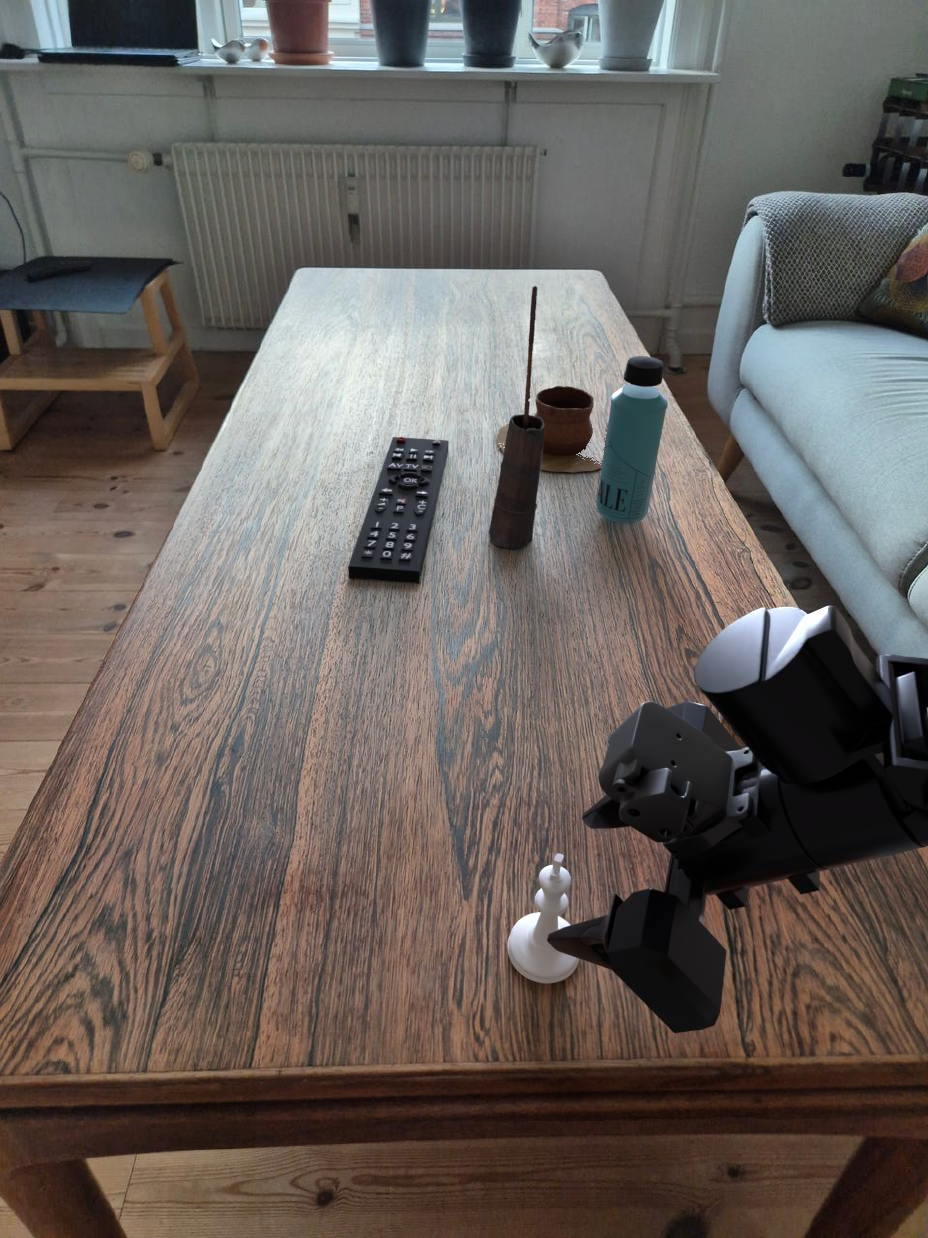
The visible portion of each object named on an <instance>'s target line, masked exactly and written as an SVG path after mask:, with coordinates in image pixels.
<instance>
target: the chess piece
mask: <svg viewBox="0 0 928 1238" xmlns="http://www.w3.org/2000/svg"><path fill="white" fill-rule="evenodd" d="M564 857H565V854H562V853H558V852H557V853H556V854H555V855H554V858H553V863H552V864H549V865H547V866H545V867H543V868H542V869H541V870H540V872H539V874H538V883H539V886H540V889H539V890H538V891H537V892H536V894H535V896H534V905H535V907H536V909H537V910H538V911H539V912H533V913H529V914H527V915H525V916H523V917H522V918H520V919H519V920H518V921H516V923H515V924H514V925H513V927H512V929H511V931H510V933H509V936H508V939H507V954H508V958H509V960H510V963H511V964H512V966H513V967H514V969H515V970H516V971H517V972H518V973H519V974H520V975H521V976H523V977H524V978H526V979H528V980H530V981H532V982H536V983H539V984H555V983H558V982H562V981H564V980H566V979H567V978H569V977H570V976H571V975H572V974H573V973H574V972H575V970H576V969H577V967H578V966H579V964H580V960H581V959H579V958H576V957H573V956H570V955H567V954H564V953H561V952H559V951H557V950H555V949H554V948H553V947H552V946H551V945H550V944H549V943H548V942H547V937H548V935H549V934H550V933H552V932H554V931H557V930H559V929H561V928H563V927H566V926H570V925H571V924H570V922H568V921H567V920H565V918H563V917H561V915H563V914H564V913H565V912H566V911H567V910H568V907H569V899H568V896H567V894H566V893H567V891H568V890H569V889H570V887H571V885H572V876H571V873H569V871H568V870H567V869H566V868H565V867H563V866H562V864H563V862H564Z"/></svg>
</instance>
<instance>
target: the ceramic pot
mask: <svg viewBox="0 0 928 1238" xmlns="http://www.w3.org/2000/svg"><path fill="white" fill-rule="evenodd" d="M594 401H595V399H594V397H593V395H592V394H590V393H589V392H588V391H586V390H584V389H581V388H577V387H574V386H569V385H566V386H562V385H555V386H553V387H548V388H545V389H542V390H540V391H539V392H537V394H536V396H535V407H536V411H535V413H534V414H533V416H537V417H541V418H543V421H544V424H545V426H544V427H545V433H544V445H543V453H542V461H541V471H548V472H551V473H553V472H557V473H563V472H564V473H573V474H576V473H578V472H593V471H596V470H599V469H600V470H601V469H602V467H600V466H602V465H600V464H601V463H600V464H598V463H599V461H597V460H596V461H597V462H598V463H595V462H596V461H593V460H591V459H592V458H593V457H592V458H589V457H588V458H586V457H587V456H586V457H583V456H582V455H580V454H578V453H579V452H580V453H581V451H582V450H583V449H584V450H585V449H586V446H587V444H588V443H589V441H590V439H591V437H592V434H593V428H592V424H591V422H592V421H591V414H592V412H593V409H594V407H595V402H594ZM508 426H509V423H508V424H505V425H503V426H502V427H500V429H499V430H498V434H497V437H496V438H495V439H496V444H497V443H502V444H498V445H497V446H498V448H499V449H500V448H501V449H500V450H501V452H502V451H503V452H502V454H504V449H505V448H503V447H505V443H506V438H507V431H508ZM503 443H504V445H503ZM590 443H591V442H590ZM500 445H501V446H502V447H500ZM576 454H578V455H579V456H578V455H576ZM580 456H581V457H580ZM582 458H584V459H585V460H584V459H582ZM593 459H594V458H593ZM590 460H591V461H590ZM602 462H603V461H602ZM594 463H595V464H594Z"/></svg>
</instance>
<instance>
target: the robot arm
mask: <svg viewBox="0 0 928 1238" xmlns="http://www.w3.org/2000/svg"><path fill="white" fill-rule="evenodd" d="M875 665H876V668H875V666H874V665H873V663H872V662H871V661H870V659H868V657H867V655H866V654H865V652H864V651H863V650H862V649H861V647H860V646H859V644H858V643H857V642H856V640H855V638H854V636H853V633H852V630H851V626H850V625H849V624H848V622H847V620H846V619H845V618H844V616H843V615H842V614H841V612H840V611H839V609H838V608H837V606H833V605H827V606H825V607H822V608H820V609H817V610H815V611H813V612H811V613H808V614H807V612H805V611H804V610H802V609H801V608H799V607H795V606H778V607H772V608H769V609H767V608H765V607H759V608H758V609H754V610H753V611H749V612H748V613H746V614H744V615H743V616H741V617H738V618H737V619H736V620H734V621H732V622H731V623H730V624H729V625H727V626H726V627H724V628H723V629H722V630H721V631H720V632H719V633H717V634H716V635H715V636H714V637H713V638H712V639H711V640H710V642H709V643H708V644H706V646H705V648H703V650H702V652H701V653H700V655H699V657H698V658H697V660H696V663H695V665H694V669H693V680H694V683H695V685H696V686H697V687H698V689H699V690H700V691H701V692H702V694H703V695H704V696H705V697H706V699H707V700H708V701H709V702H710V703H711V704H712V706H713V707H714V708H715V710H716V711H717V713H719V714H720V716H721V717H722V719H723V718H724V719H723V720H724V721H725V722H726V723H727V724H728V726H729V727H730V728H731V729H732V730H733V732H734V733H735V734H736V735H737V737H739V739H740V740H741V741H742V742H743V743H744V745H745V746H746V747H742V746H741V744H739V742H738V741H737V740H736V738H734V737H733V735H732V734H731V733H730V731H729V730H728V729H727V728H726V727H725V725H724V724H723V723H722V722H721V721H720V719H719V718H718V717H717V716H716V714H715V713H714V712H713V711H712V710H711V708H710V707H709V706H708V705H707V704H703V703H702V704H701V703H697V702H694V701H690V700H684V701H682V702H679V703H677V704H674V705H671V706H669V707H667V708H666V707H665V706H663V705H661V704H660V703H658V702H655V701H652V700H647V701H644V702H642V703H641V704H640V705H639V706H638V708H636V709H635V710H634V711H633V712H632V713H631V714H630V715H629V716H628V717H627V718H626V719H625V720H624V721H623V722H622V723H621V724H620V725H619V726H618V727H617V728H616V729H615V730H614V731H613V732H612V733H610V735H609V737H608V741H607V743H608V746H607V750H606V754H605V757H604V760H603V763H602V766H601V767H600V769H599V771H598V783H599V786H600V788H601V790H602V791H603V792H604V794H605V795H604V796H602V797H601V798H600V799H599V800H598V801H597V802H595V804H593V805H592V806H591V807H590V808H588V809H587V810H586V811H584V812H583V813H582V816H581V820H582V822H583V823H584V824H585V825H586V826H587V827H588V828H589V829H592V830H603V829H605V830H606V829H607V830H608V829H611V830H612V829H621V828H629V827H631V828H632V829H634V830H636V831H637V832H639V833H640V834H641V835H643V836H645V837H647V838H648V839H650V840H651V841H652V842H655V843H660V844H661V843H662V846H663V847H664V848H665V849H666V850H667V852H669V854H670V856H669V861H668V862H669V863H668V868H667V874H666V879H665V883H664V884H665V885H664V891H662V890H659V889H656V888H652V887H648V888H644V889H640V890H636V891H633V892H631V894H629V895H628V897H626V899H624V900H623V899H622V897H621V896H619V894H617V893H614V894H613V896H612V899H611V903H610V907H609V912H608V913H607V914H604V915H602V916H598V917H594V918H591V919H588V920H585V921H580V922H577V923H574V924H573V923H572V924H570V926H566V927H563V928H561V929H559V930H557V931H554V932H552V933H550V934H549V935H548V937H547V942H548V943H549V944H550V945H551V946H552V947H553V948H554V949H555V950H557V951H559V952H561V953H564V954H567V955H570V956H573V957H576V958H579V959H580V960H581V961H584V962H587V963H591V964H593V965H597V966H599V967H602V968H605V969H608V970H610V971H612V972H613V973H614V974H615V975H616V976H617V977H618V978H619V979H620V980H621V981H622V982H623V984H625V986H627V987H628V988H629V989H630V991H632V993H634V994H635V995H636V996H637V998H639V1000H641V1001H642V1002H643V1004H645V1005H646V1006H647V1007H648V1009H650V1011H652V1012H653V1013H654V1015H655V1016H656V1017H657V1018H658V1019H659V1020H660V1021H661V1022H662V1023H663V1024H664V1025H665V1026H666V1027H667V1028H668V1029H669V1030H670V1031H671V1032H672V1033H673V1034H680V1033H681V1034H682V1033H688V1032H689V1033H690V1032H696V1031H704V1030H706V1029H708V1028H711V1027H713V1026H715V1025H716V1024H717V1021H718V1018H719V1016H720V1013H722V1012H721V1011H722V1002H723V990H724V982H725V981H724V980H725V972H726V971H725V970H726V961H727V949H726V948H725V947H724V946H723V944H722V943H721V942H719V940H718V939H717V938H716V937H715V936H714V935H713V933H711V931H710V930H709V929H708V928H707V927H706V926H705V925H704V920H705V911H706V905H707V903H706V902H707V896H716V897H717V898H718V900H719V901H720V902H721V903H722V904H723V905H724V906H725V908H727V910H728V911H732V910H737V909H741V908H746V907H747V900H748V899H747V898H748V889H751V888H756V887H759V886H763V885H764V886H765V885H769V884H772V883H777V882H782V881H785V880H788V881H789V882H790V884H791V886H793V888H795V890H796V891H797V892H798V893H799V895H806V894H810V893H815V892H819V891H821V890H820V889H821V886H820V885H821V884H820V883H821V872H825V871H828V870H833V869H837V868H841V867H845V866H846V867H847V866H850V865H851V866H852V865H855V864H859V863H863V862H868V861H873V860H876V859H880V858H881V859H882V858H885V857H889V856H894V855H897V854H902V853H906V852H911V851H915V850H919V849H924V848H927V847H928V658H925V657H918V656H917V657H916V656H908V655H899V654H890V653H882V654H880V655H878V656H877V657H876V659H875Z"/></svg>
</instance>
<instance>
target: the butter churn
mask: <svg viewBox="0 0 928 1238" xmlns="http://www.w3.org/2000/svg"><path fill="white" fill-rule="evenodd" d="M531 289H532V290H531V299H530V311H529V312H530V313H529V316H530V317H529V332H528V346H527V348H528V349H527V365H526V368H527V369H526V381H525V394H524V408H523V409H524V410H523V414H514V415H512V416H511V417H510V418H509V422H508V424H509V426H508V431H507V438H506V443H505V449H504V453H502V459H501V463H500V465H499V466H500V471H499V476H498V481H497V487H496V492H495V493H496V494H495V497H494V501H493V507H492V513H491V519H490V524H489V530H488V536H489V540H490V542H491V543H492V544H494V545H495V546H497V547H500V548H502V549H509V550H518V549H519V548H521V547H523V546H526V545H528V544H529V543H530V542H532V541H533V537H534V527H535V526H534V525H535V518H536V510H537V508H538V504H537V503H538V502H537V499H538V498H537V497H538V490H539V484H540V477H541V471H542V470H541V461H542V453H543V445H544V433H545V427H544V426H545V424H544V421H543V418H541V417H537V416H534V414H533V415H532V414H531V415H530V406H531V405H530V404H531V402H530V399H531V385H532V384H531V383H532V370H533V369H532V368H533V367H532V366H533V351H534V342H535V329H536V328H535V327H536V317H537V315H536V313H537V312H536V311H537V299H538V298H537V297H538V286H536V285H534V286H532V288H531Z"/></svg>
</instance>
